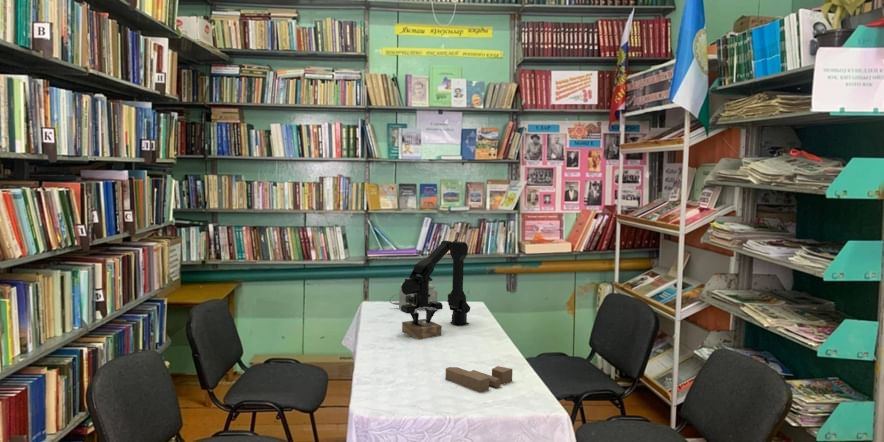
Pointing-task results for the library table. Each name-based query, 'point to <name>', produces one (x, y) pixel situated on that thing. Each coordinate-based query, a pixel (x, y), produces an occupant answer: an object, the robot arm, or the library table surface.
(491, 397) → the library table surface
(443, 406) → the library table surface
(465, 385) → the wooden block set
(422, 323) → the block
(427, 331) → the pocket plate
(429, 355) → the library table surface
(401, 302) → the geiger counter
